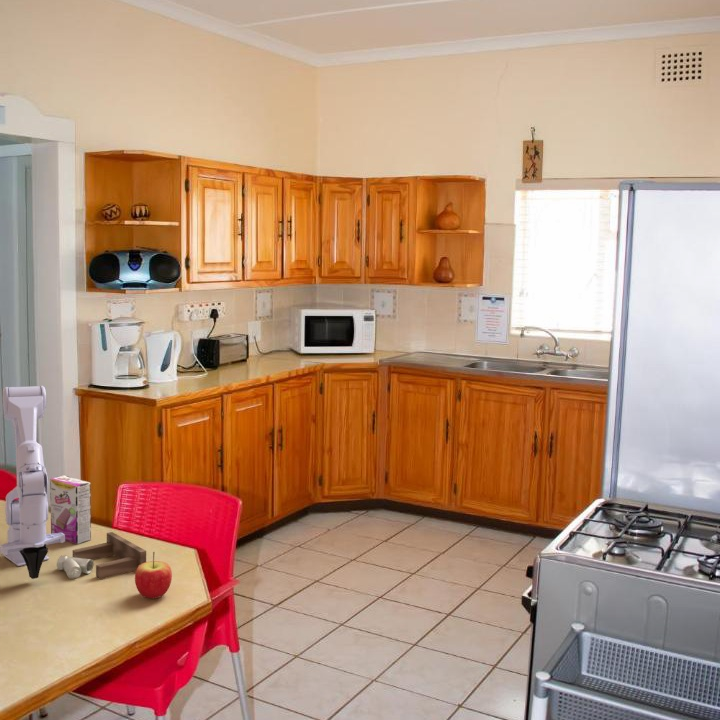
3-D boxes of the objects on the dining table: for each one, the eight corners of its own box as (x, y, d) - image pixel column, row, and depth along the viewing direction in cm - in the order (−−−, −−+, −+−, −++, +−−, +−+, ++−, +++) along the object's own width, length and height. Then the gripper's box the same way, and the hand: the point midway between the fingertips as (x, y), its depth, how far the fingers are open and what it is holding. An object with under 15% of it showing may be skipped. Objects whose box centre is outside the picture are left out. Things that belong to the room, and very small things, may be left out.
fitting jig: (70, 559, 217) (69, 540, 216) (112, 550, 224) (111, 531, 224) (102, 581, 204) (102, 561, 203) (146, 570, 211) (146, 550, 211)
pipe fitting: (78, 583, 204) (93, 571, 210) (77, 568, 203) (93, 556, 209) (49, 578, 206) (65, 567, 212) (48, 563, 205) (64, 552, 211)
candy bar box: (49, 536, 233) (48, 478, 231) (64, 532, 237) (64, 474, 235) (76, 545, 227) (76, 485, 225) (91, 540, 231) (91, 481, 229)
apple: (172, 588, 201) (172, 547, 200) (170, 602, 193) (171, 560, 191) (136, 589, 200) (136, 548, 198) (133, 604, 191) (133, 561, 190)
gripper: (8, 532, 192) (9, 589, 193) (70, 519, 201) (70, 575, 203) (-4, 524, 197) (-3, 580, 198) (57, 512, 206) (58, 566, 208)
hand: (33, 577), depth 201 cm, fingers closed
